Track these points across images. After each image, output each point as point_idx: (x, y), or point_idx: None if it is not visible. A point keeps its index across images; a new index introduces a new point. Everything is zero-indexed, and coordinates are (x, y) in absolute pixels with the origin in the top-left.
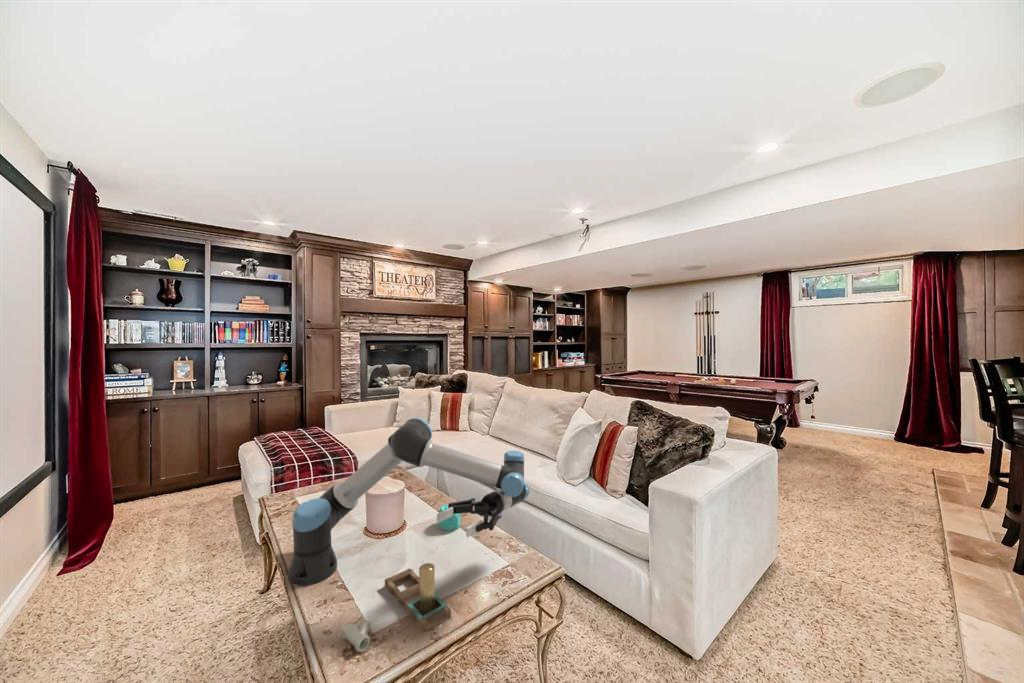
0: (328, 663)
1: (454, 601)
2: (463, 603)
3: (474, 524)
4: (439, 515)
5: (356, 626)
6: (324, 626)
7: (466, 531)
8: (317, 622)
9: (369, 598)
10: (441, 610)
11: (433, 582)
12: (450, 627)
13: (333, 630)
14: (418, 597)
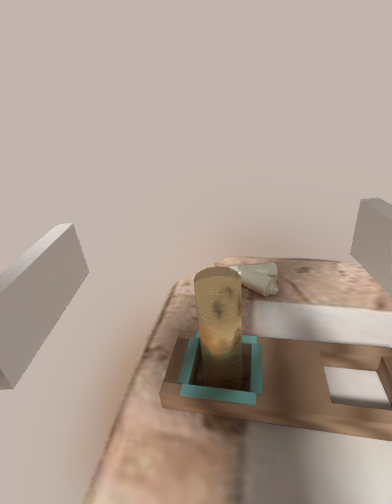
0: (242, 260)
1: (201, 463)
2: (169, 479)
3: (26, 257)
4: (365, 213)
5: (268, 274)
6: (319, 270)
7: (78, 244)
8: (335, 267)
9: (362, 327)
10: (177, 375)
11: (198, 318)
12: (142, 386)
13: (301, 274)
14: (265, 365)
